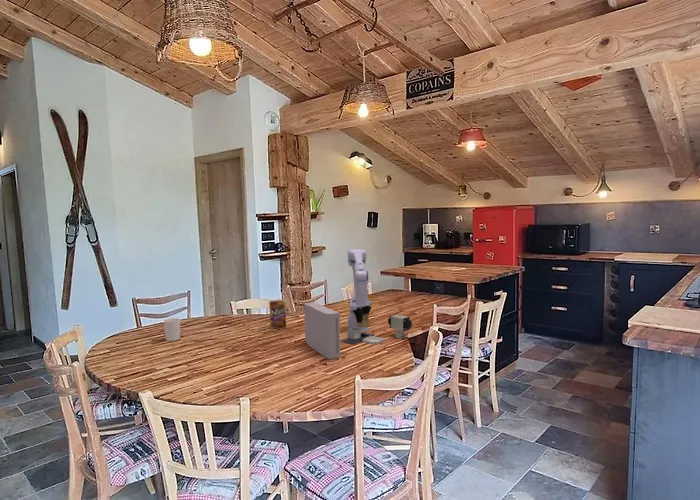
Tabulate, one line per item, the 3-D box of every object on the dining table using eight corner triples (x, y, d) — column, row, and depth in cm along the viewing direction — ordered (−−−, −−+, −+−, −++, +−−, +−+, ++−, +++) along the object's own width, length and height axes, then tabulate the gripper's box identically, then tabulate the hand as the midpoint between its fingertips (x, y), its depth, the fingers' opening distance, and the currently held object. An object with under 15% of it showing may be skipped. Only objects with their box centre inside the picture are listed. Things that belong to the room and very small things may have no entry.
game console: (328, 360, 196) (327, 314, 194) (304, 344, 220) (303, 303, 219) (340, 357, 199) (339, 312, 197) (315, 342, 223) (314, 302, 221)
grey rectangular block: (347, 341, 221) (347, 329, 221) (353, 339, 225) (353, 327, 225) (355, 343, 219) (354, 330, 218) (360, 340, 222) (360, 328, 222)
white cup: (184, 338, 235) (183, 319, 234) (172, 342, 228) (171, 322, 227) (173, 336, 238) (172, 317, 237) (161, 340, 231) (160, 321, 230)
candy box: (269, 329, 249) (269, 301, 248) (270, 327, 254) (269, 300, 252) (286, 328, 251) (285, 301, 249) (286, 326, 255) (285, 299, 254)
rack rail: (342, 343, 220) (342, 339, 220) (363, 335, 234) (363, 332, 234) (354, 345, 216) (354, 342, 216) (374, 337, 230) (374, 334, 230)
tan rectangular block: (356, 326, 227) (355, 314, 226) (361, 324, 230) (361, 312, 230) (363, 327, 224) (363, 315, 223) (368, 325, 227) (368, 313, 227)
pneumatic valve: (406, 341, 222) (406, 316, 221) (387, 336, 230) (387, 313, 229) (413, 338, 226) (413, 314, 225) (394, 334, 234) (394, 311, 233)
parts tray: (362, 342, 220) (361, 339, 220) (371, 339, 227) (371, 335, 227) (375, 345, 216) (375, 342, 215) (384, 341, 222) (384, 338, 222)
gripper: (359, 297, 217) (360, 325, 219) (376, 293, 229) (376, 319, 230) (348, 296, 222) (348, 323, 223) (365, 291, 233) (365, 317, 234)
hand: (362, 321), depth 227 cm, fingers closed on tan rectangular block, 4 cm apart
